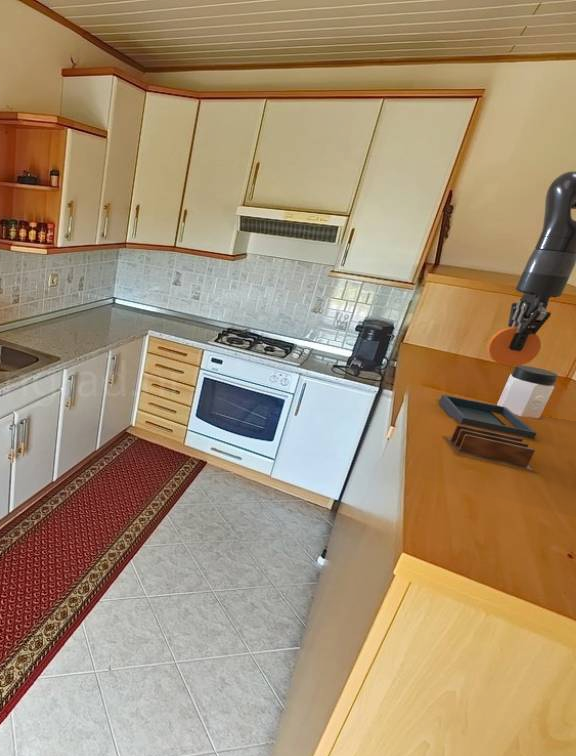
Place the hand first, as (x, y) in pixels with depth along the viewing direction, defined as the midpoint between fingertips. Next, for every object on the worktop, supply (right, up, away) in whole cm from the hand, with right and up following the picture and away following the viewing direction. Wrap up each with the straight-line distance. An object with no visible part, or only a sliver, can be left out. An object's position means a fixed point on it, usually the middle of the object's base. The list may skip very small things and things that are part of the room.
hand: (512, 348), depth 111 cm
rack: (-18, -23, -13) cm, 32 cm away
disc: (-1, -4, +1) cm, 4 cm away
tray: (-2, -17, +7) cm, 19 cm away
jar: (+14, -16, +15) cm, 26 cm away
